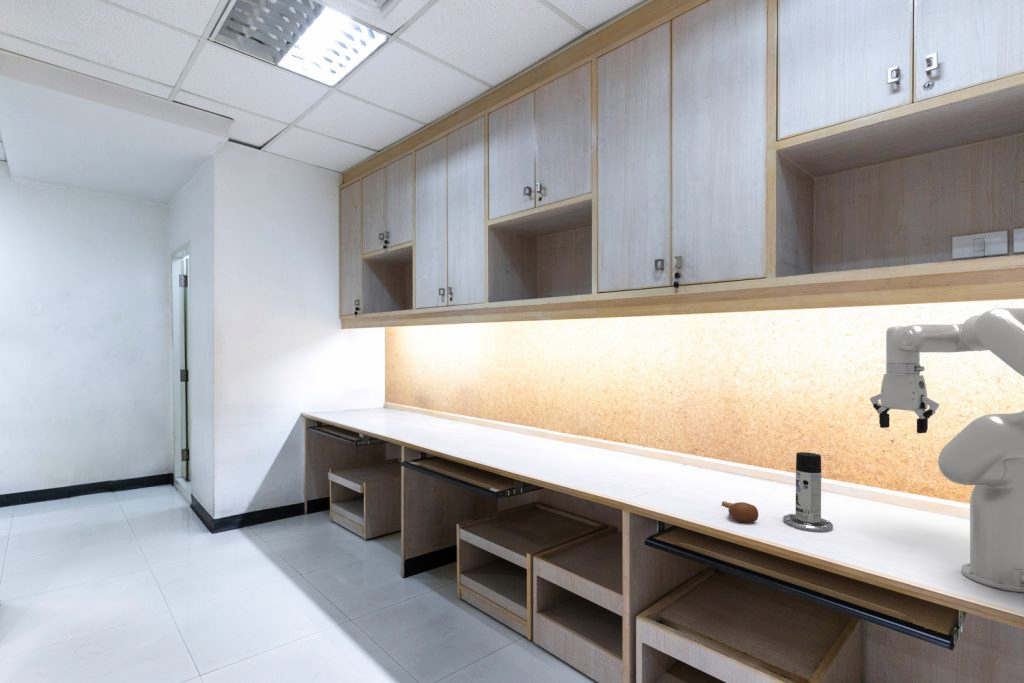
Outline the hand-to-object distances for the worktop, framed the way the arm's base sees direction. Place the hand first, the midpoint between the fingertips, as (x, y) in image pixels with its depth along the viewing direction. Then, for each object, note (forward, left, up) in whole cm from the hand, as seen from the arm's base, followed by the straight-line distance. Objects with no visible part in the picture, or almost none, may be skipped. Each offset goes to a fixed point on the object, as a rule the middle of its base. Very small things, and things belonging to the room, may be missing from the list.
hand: (902, 430), depth 144 cm
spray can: (+17, +16, -29) cm, 37 cm away
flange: (+17, +16, -30) cm, 38 cm away
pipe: (+32, +30, -31) cm, 54 cm away
